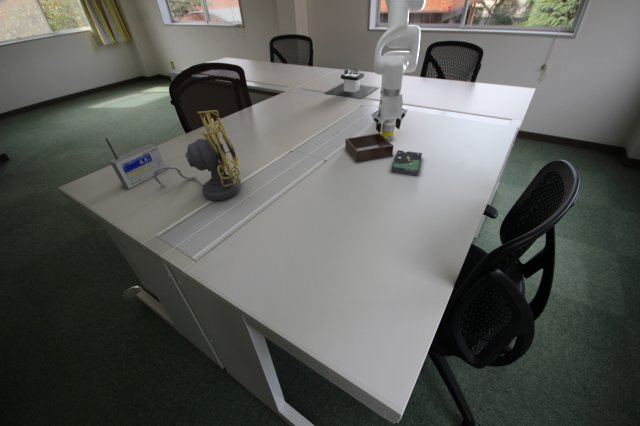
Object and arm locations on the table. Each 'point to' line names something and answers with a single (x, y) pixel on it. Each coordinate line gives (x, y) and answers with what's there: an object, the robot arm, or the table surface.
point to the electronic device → (137, 164)
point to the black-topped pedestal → (352, 86)
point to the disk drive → (406, 162)
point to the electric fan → (212, 161)
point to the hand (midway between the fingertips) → (387, 129)
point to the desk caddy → (368, 154)
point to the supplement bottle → (388, 129)
